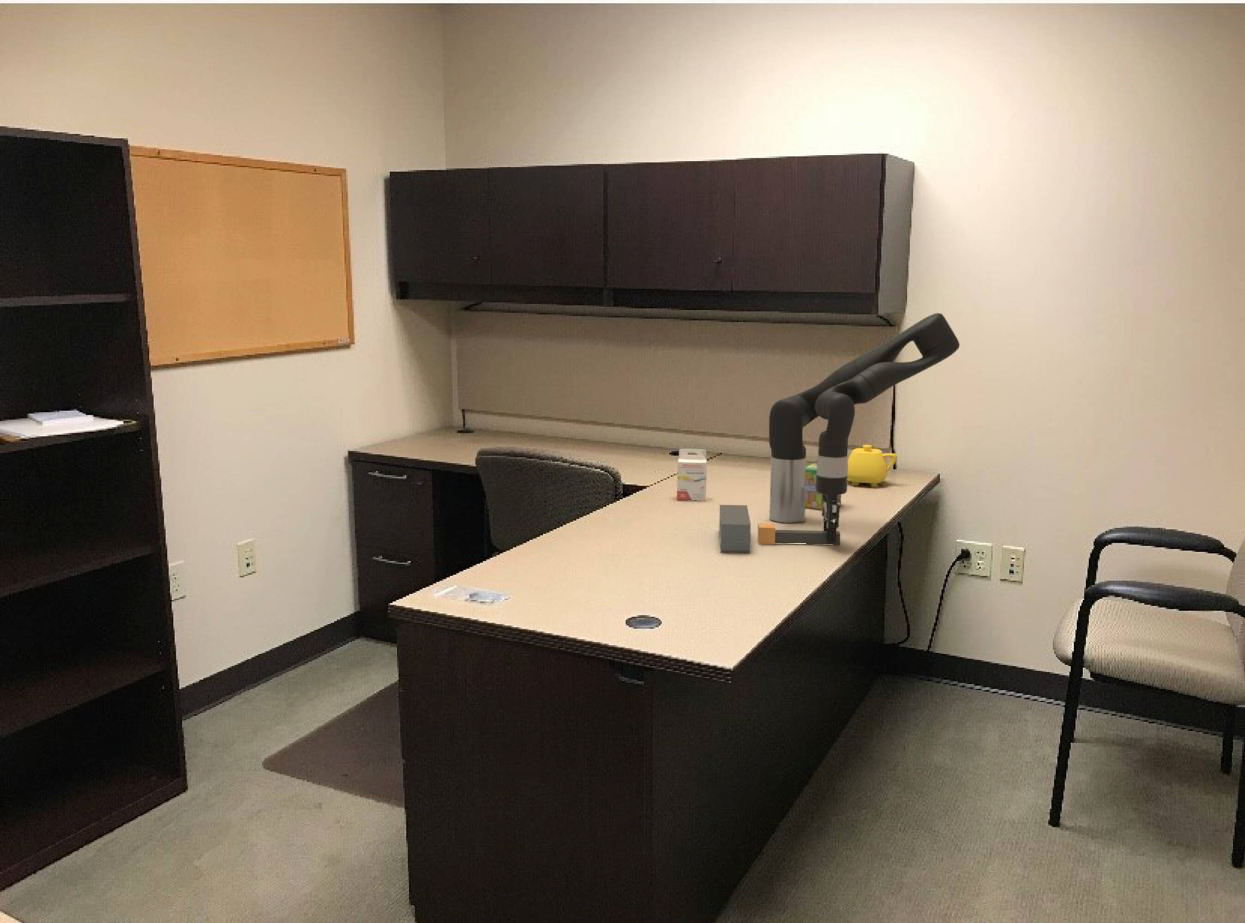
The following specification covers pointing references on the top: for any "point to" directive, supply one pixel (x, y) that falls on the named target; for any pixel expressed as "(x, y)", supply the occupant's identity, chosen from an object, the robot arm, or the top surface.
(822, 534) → the plug
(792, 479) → the robot arm
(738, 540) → the mallet head
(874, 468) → the teapot
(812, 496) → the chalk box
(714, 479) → the top surface
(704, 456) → the ink cartridge box
